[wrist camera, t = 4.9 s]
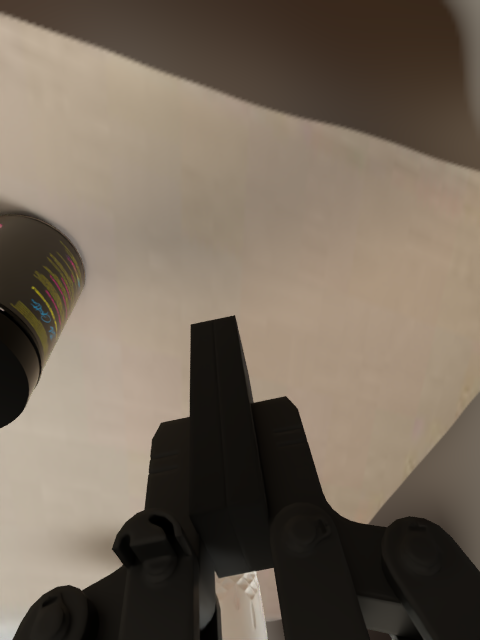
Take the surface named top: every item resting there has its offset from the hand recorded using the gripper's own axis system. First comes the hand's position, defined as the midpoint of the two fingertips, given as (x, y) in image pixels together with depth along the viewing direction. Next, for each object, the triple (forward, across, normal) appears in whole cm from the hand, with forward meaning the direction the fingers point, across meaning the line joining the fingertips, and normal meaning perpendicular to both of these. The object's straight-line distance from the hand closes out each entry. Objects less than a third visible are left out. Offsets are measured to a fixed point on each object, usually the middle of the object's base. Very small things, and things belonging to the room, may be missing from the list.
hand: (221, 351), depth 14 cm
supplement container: (+13, -11, 0) cm, 17 cm away
